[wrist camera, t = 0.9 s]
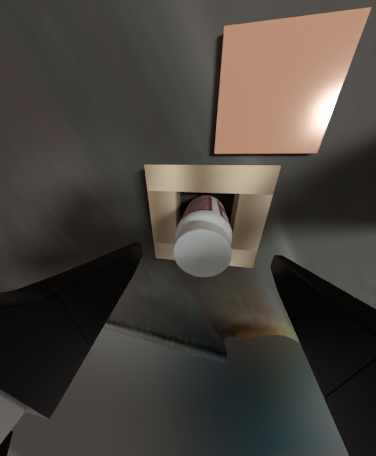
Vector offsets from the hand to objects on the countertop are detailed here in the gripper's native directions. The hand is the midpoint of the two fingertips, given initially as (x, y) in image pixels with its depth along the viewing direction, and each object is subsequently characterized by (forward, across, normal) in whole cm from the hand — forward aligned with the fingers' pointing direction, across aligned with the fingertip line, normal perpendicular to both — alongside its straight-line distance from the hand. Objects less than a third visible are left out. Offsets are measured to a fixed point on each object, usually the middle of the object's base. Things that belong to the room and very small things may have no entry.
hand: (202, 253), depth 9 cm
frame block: (+8, 0, 0) cm, 8 cm away
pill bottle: (+8, 0, 0) cm, 8 cm away
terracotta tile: (+8, -5, -10) cm, 14 cm away
